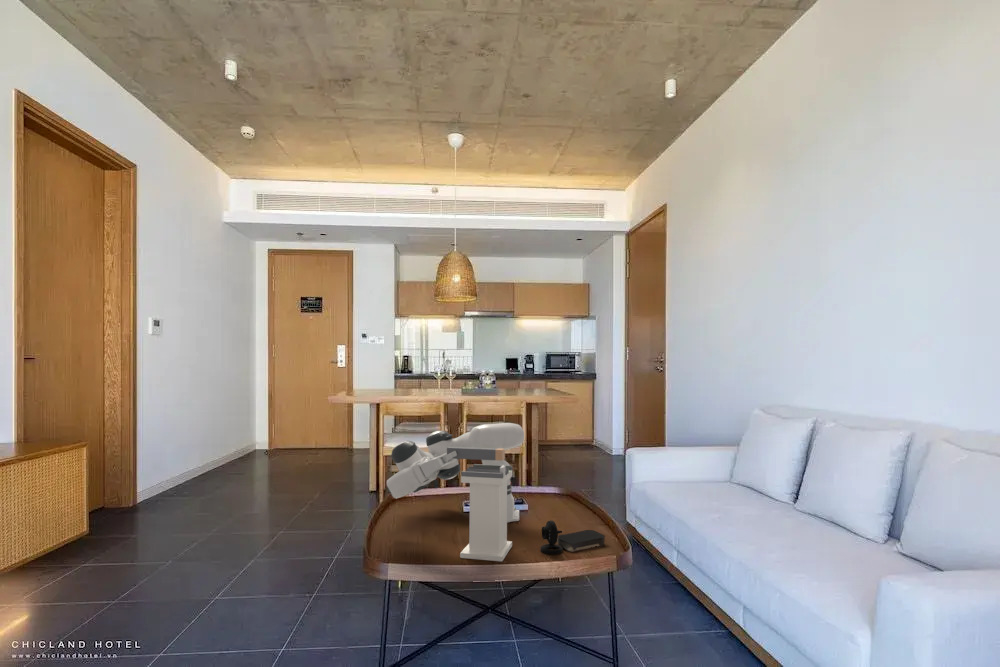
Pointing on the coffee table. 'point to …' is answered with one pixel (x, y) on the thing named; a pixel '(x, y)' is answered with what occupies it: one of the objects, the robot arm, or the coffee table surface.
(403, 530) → the coffee table surface
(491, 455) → the long grey square bar
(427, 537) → the coffee table surface
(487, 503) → the tester stand
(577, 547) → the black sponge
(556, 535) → the webcam
